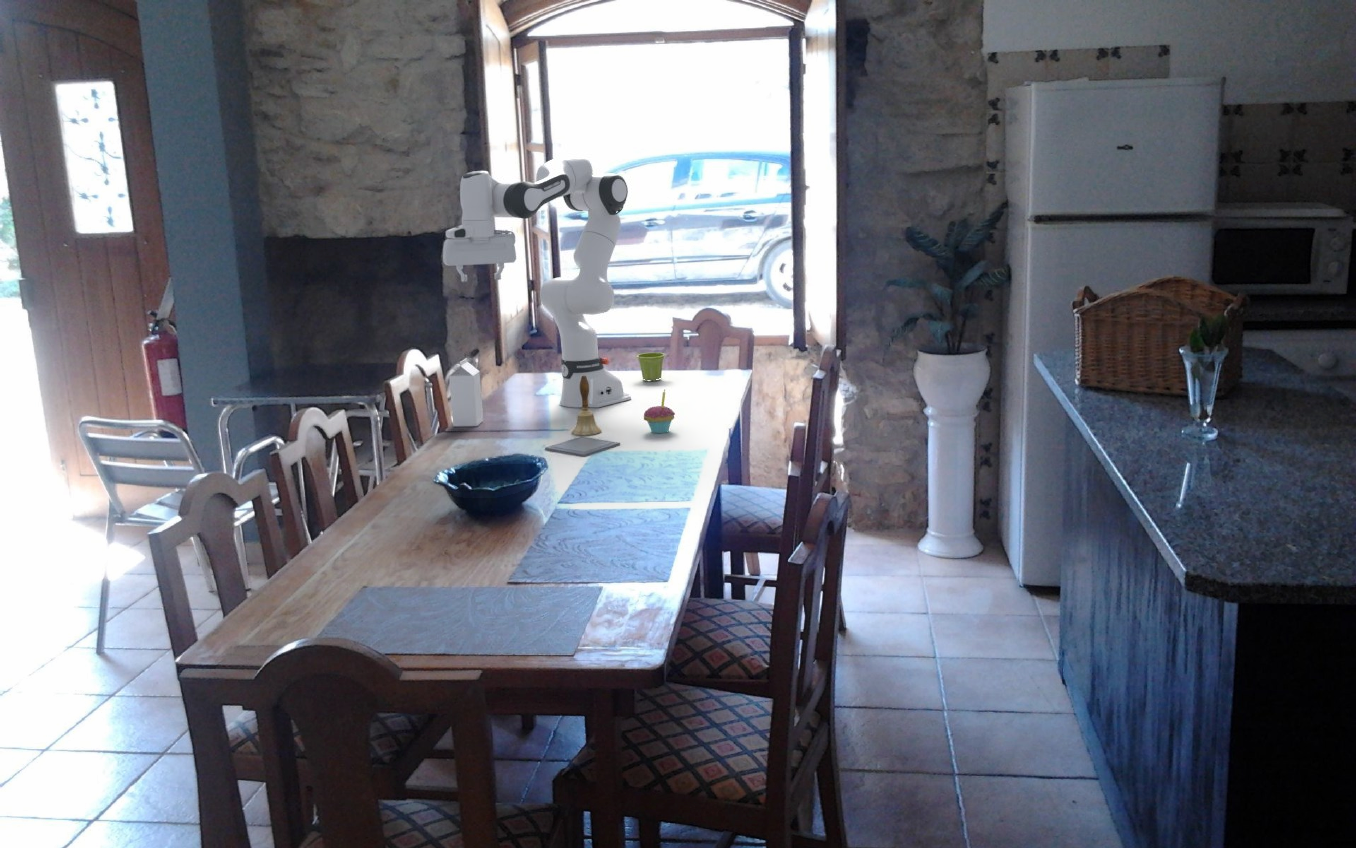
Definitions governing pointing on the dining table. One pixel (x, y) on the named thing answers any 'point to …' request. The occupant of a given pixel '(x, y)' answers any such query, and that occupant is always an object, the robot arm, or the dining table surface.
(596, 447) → the plate
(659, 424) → the cupcake
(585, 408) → the hand bell
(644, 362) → the plant pot
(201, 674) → the dining table surface
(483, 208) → the robot arm
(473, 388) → the milk carton
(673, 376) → the dining table surface
